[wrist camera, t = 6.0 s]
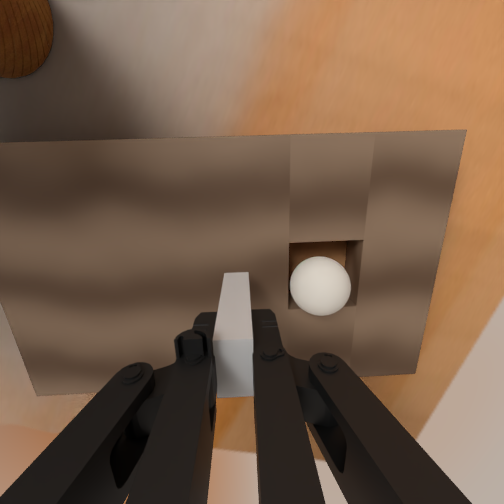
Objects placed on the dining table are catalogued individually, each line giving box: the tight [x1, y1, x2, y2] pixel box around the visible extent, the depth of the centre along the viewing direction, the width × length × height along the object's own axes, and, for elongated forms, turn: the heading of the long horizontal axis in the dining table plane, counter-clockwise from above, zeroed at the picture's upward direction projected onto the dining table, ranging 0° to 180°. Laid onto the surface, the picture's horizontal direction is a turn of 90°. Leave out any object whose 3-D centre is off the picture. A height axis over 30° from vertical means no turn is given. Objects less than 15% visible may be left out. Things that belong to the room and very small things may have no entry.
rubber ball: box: [290, 256, 351, 316], centre depth 17 cm, size 4×4×4 cm
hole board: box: [0, 130, 467, 396], centre depth 18 cm, size 18×30×2 cm, turn 92°
